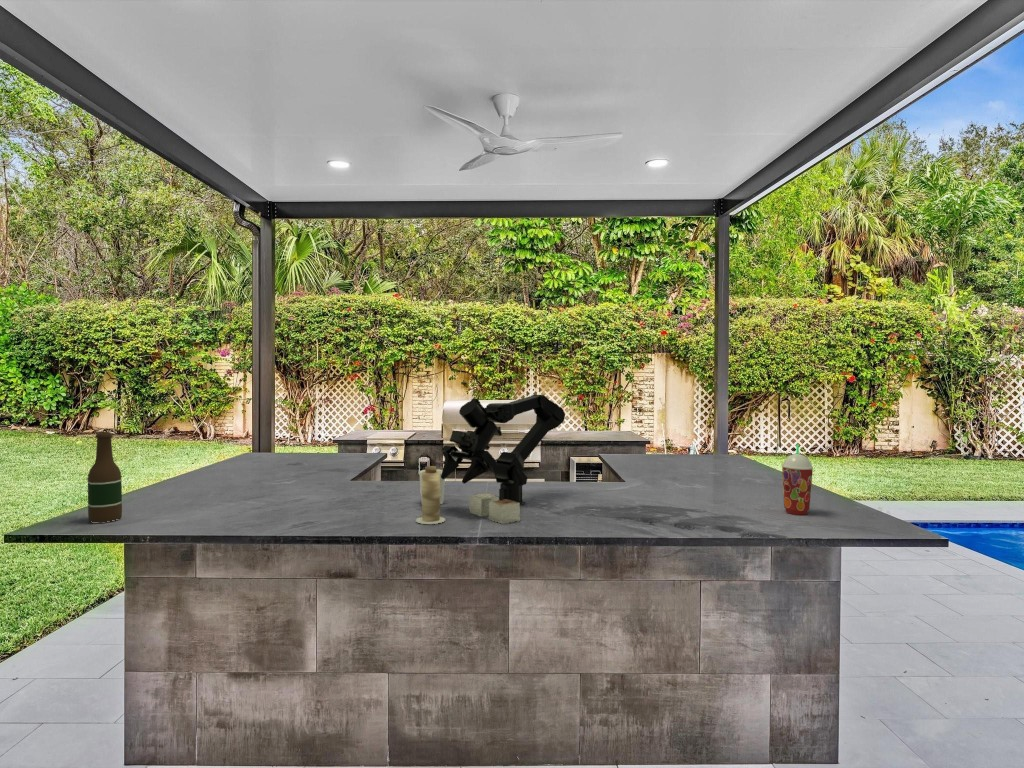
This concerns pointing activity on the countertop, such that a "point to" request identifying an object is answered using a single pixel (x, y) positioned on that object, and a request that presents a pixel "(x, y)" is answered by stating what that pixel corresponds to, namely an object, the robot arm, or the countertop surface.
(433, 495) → the pepper mill
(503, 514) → the spice tin
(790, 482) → the smoothie
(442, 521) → the coaster
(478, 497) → the spice tin
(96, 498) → the beer bottle
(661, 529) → the countertop surface
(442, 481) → the white cup
